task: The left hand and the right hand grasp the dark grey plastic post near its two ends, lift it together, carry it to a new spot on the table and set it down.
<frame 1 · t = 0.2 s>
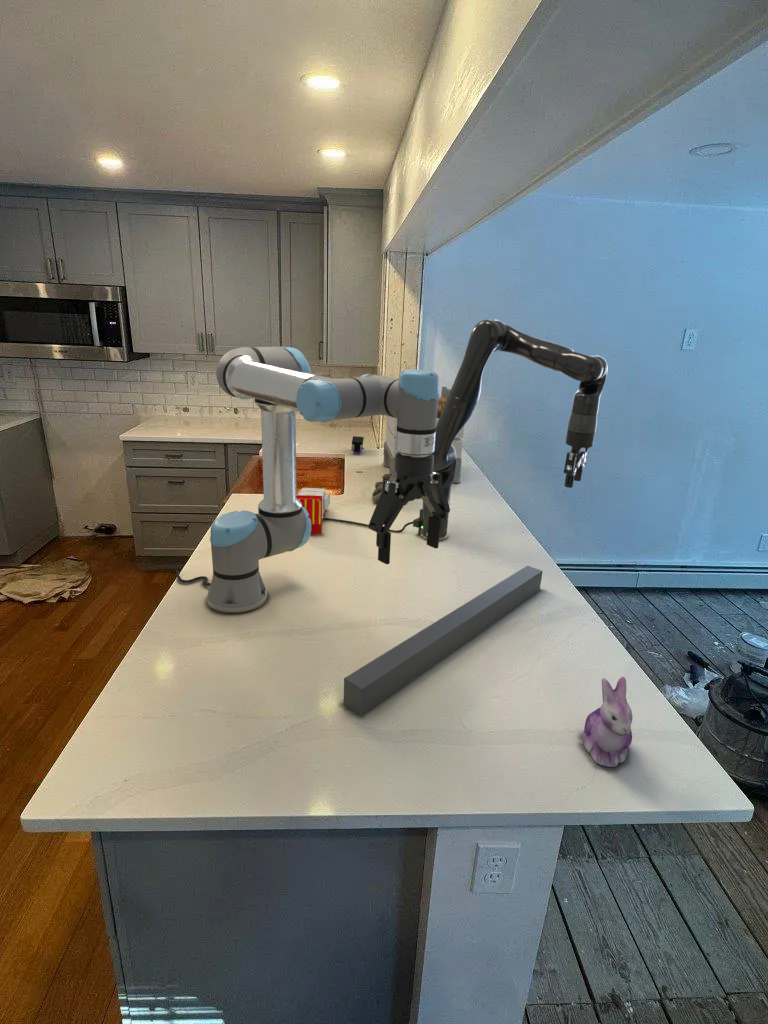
left hand: (408, 553, 116), 28 cm above the counter, tool pointing down, fingers open, 13 cm apart
right hand: (572, 483, 165), 29 cm above the counter, tool pointing down, fingers open, 8 cm apart
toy: (311, 520, 208), on the counter
figurine: (606, 750, 104), on the counter
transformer: (419, 473, 275), on the counter
post: (459, 636, 139), on the counter
figurine character: (357, 452, 309), on the counter
fossil: (386, 497, 238), on the counter
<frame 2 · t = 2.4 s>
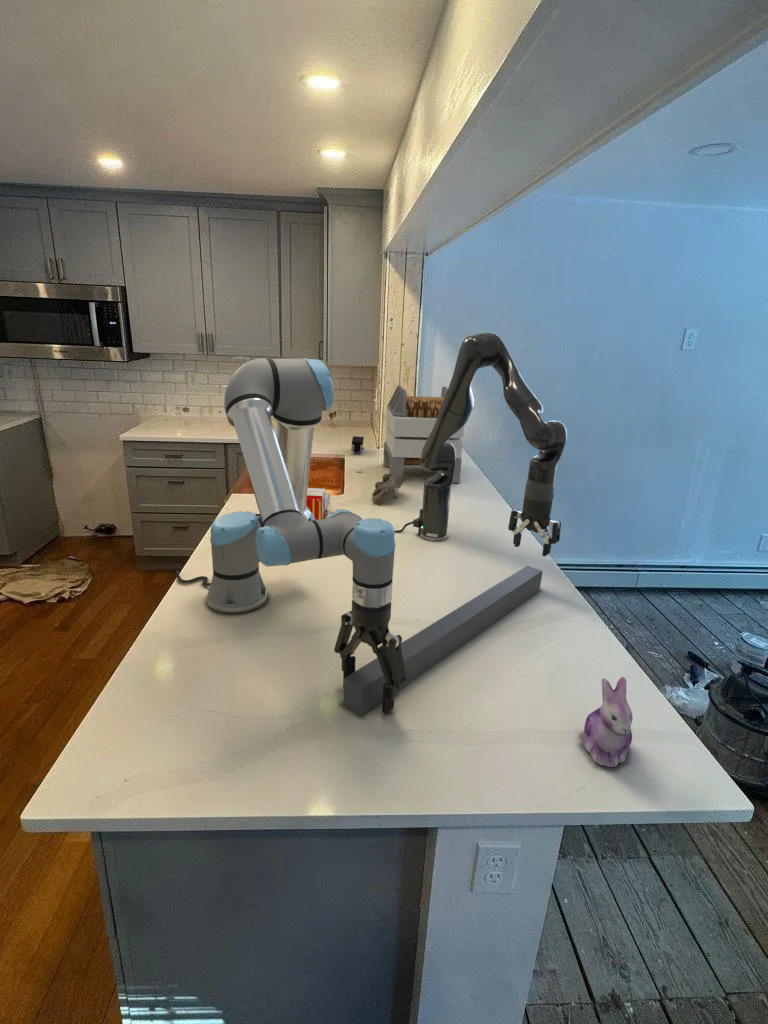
left hand: (367, 697, 115), 0 cm above the counter, tool pointing down, fingers open, 10 cm apart
right hand: (530, 550, 158), 13 cm above the counter, tool pointing down, fingers open, 8 cm apart
nothing on the counter moved.
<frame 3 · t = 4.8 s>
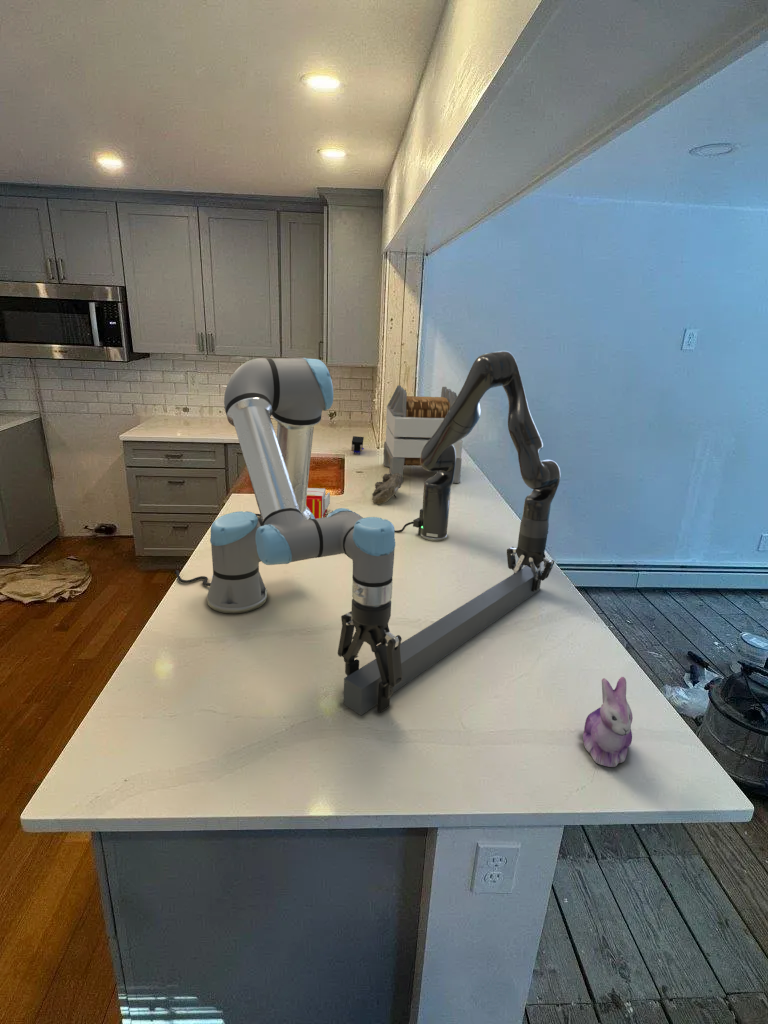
left hand: (367, 698, 115), 0 cm above the counter, tool pointing down, fingers open, 8 cm apart
right hand: (525, 587, 161), 2 cm above the counter, tool pointing down, fingers closed on post, 5 cm apart
post: (459, 636, 139), on the counter, touching right hand
everything else where it was.
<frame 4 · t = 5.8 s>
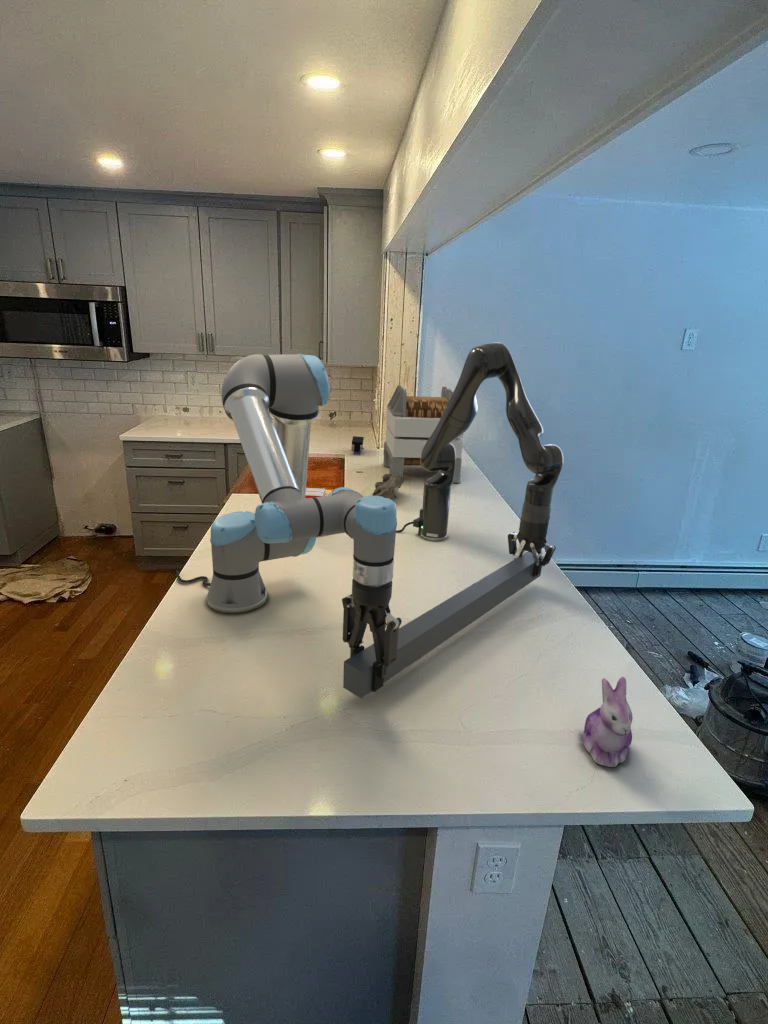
left hand: (367, 681, 114), 4 cm above the counter, tool pointing down, fingers closed on post, 5 cm apart
right hand: (526, 572, 161), 6 cm above the counter, tool pointing down, fingers closed on post, 5 cm apart
post: (459, 621, 138), point 4 cm above the counter, touching right hand, left hand
everything else where it was.
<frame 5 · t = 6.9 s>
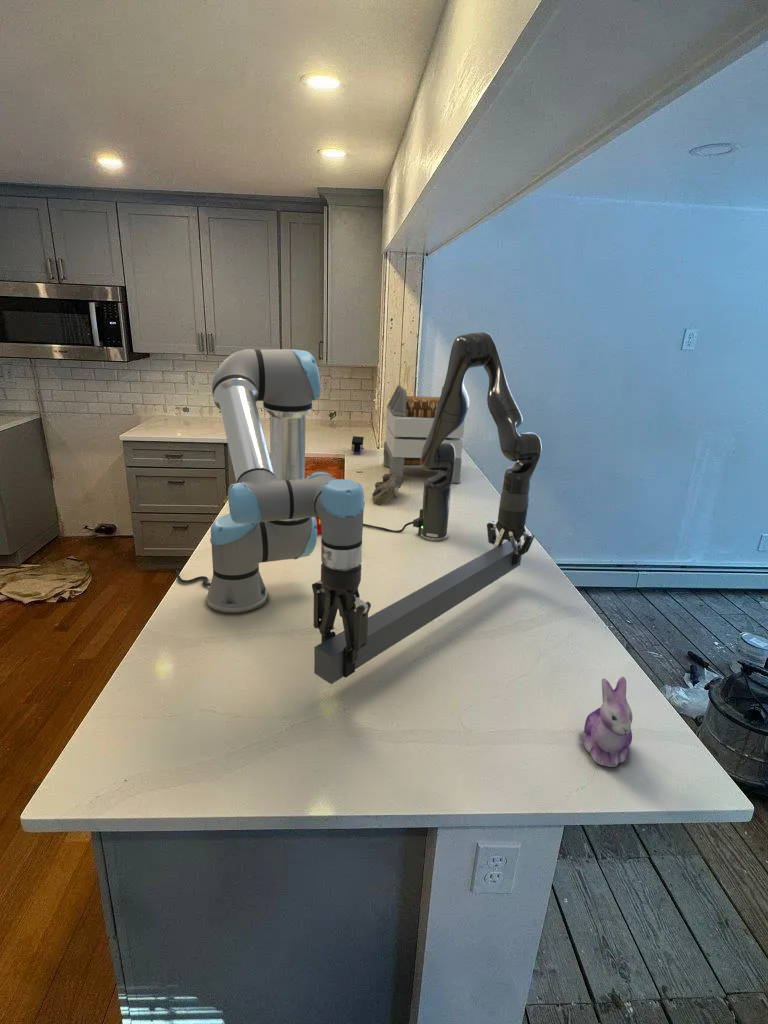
left hand: (338, 667, 114), 7 cm above the counter, tool pointing down, fingers closed on post, 5 cm apart
right hand: (505, 561, 160), 9 cm above the counter, tool pointing down, fingers closed on post, 5 cm apart
post: (436, 609, 137), point 7 cm above the counter, touching right hand, left hand
everything else where it was.
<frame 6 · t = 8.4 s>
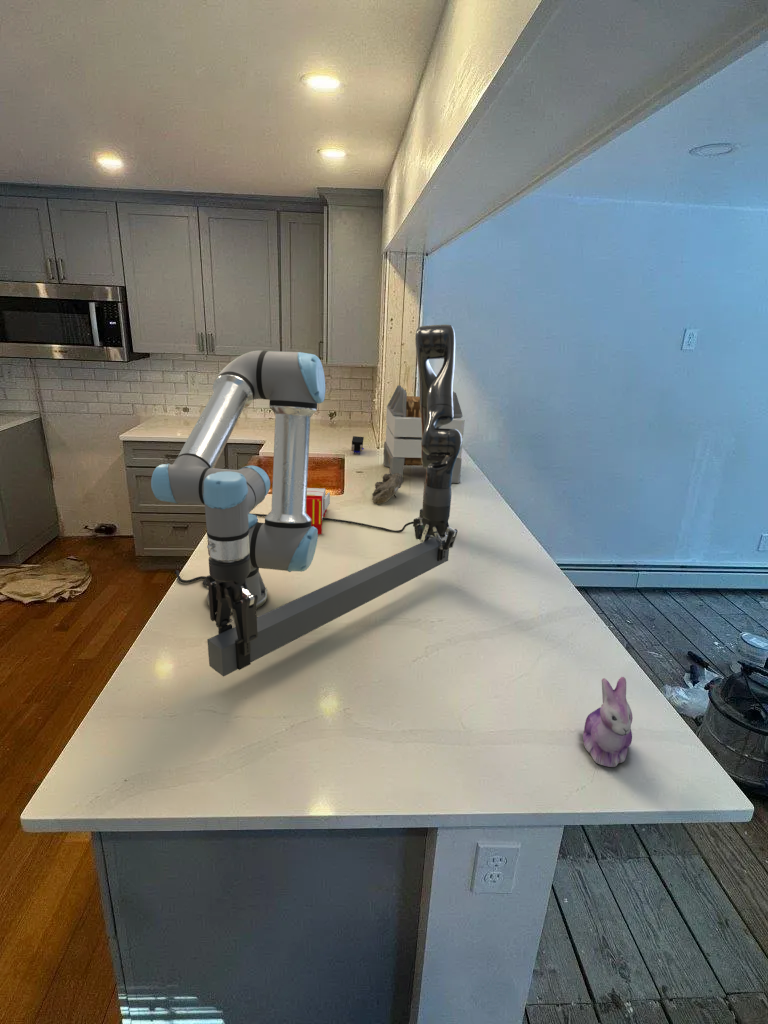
left hand: (235, 660, 114), 7 cm above the counter, tool pointing down, fingers closed on post, 5 cm apart
right hand: (432, 557, 160), 9 cm above the counter, tool pointing down, fingers closed on post, 5 cm apart
post: (350, 603, 138), point 7 cm above the counter, touching right hand, left hand
everything else where it was.
when the left hand's fingers open (0 cm above the counter, at t = 9.3 s): post stays where it is, on the counter.
when the right hand's fingers open (2 cm above the counter, at t = 9.5 s): post stays where it is, on the counter.
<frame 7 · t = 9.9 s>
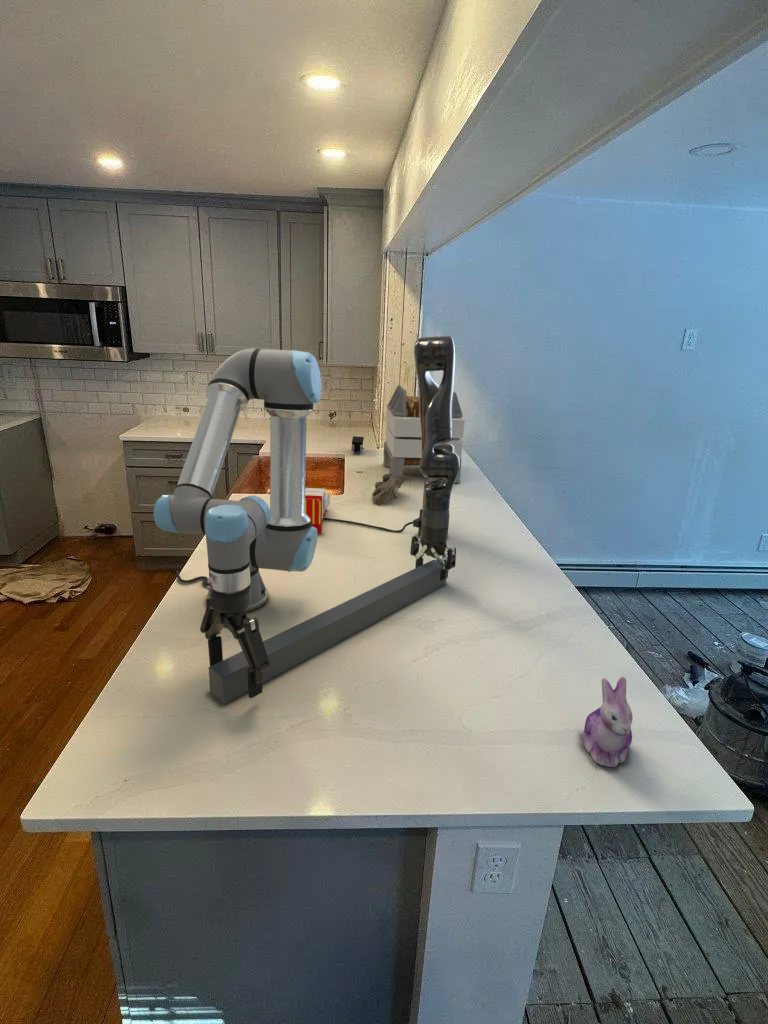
left hand: (235, 679, 115), 2 cm above the counter, tool pointing down, fingers open, 13 cm apart
right hand: (431, 575, 162), 3 cm above the counter, tool pointing down, fingers open, 8 cm apart
post: (349, 628, 140), on the counter
everything else where it was.
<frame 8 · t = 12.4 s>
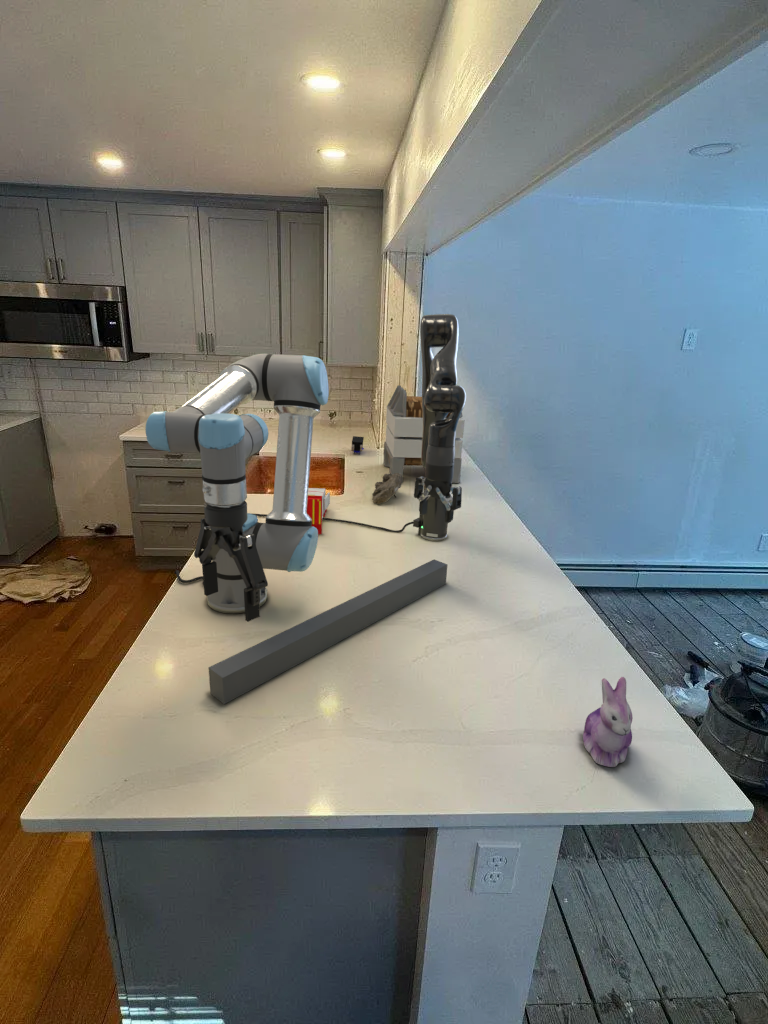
left hand: (231, 605, 109), 19 cm above the counter, tool pointing down, fingers open, 13 cm apart
right hand: (435, 518, 156), 21 cm above the counter, tool pointing down, fingers open, 8 cm apart
nothing on the counter moved.
at the end: post inside the target area (0.2 cm from its centre), on the counter; post tilted 0°; post never tilted more than 2° during the clip; both hands held the post at the same time; the left hand is holding nothing; the right hand is holding nothing; post at rest at the end (0.0 cm/s) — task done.
